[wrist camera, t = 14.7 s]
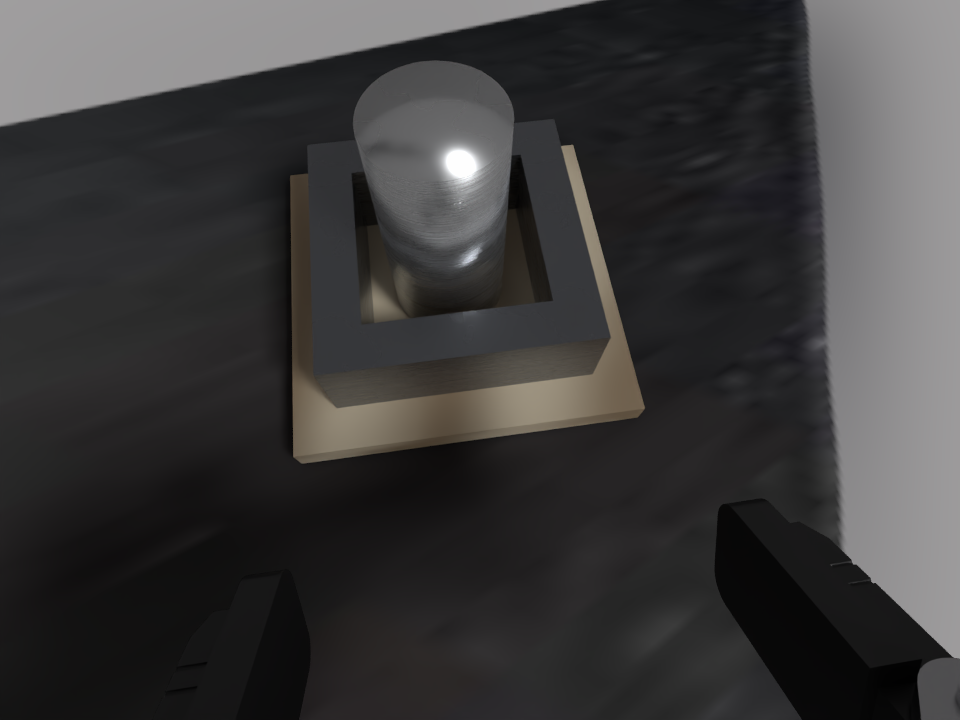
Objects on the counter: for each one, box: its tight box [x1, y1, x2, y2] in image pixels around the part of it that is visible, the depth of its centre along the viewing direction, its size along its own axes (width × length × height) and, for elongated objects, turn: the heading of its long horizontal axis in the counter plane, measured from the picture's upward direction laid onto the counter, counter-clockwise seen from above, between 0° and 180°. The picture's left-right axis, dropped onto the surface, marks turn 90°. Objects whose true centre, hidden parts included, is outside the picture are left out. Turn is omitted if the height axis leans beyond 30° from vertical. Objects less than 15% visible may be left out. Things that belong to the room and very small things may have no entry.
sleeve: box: [307, 119, 611, 408], centre depth 20 cm, size 9×9×3 cm
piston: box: [353, 61, 514, 318], centre depth 18 cm, size 4×4×8 cm
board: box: [290, 145, 645, 464], centre depth 22 cm, size 12×12×1 cm
